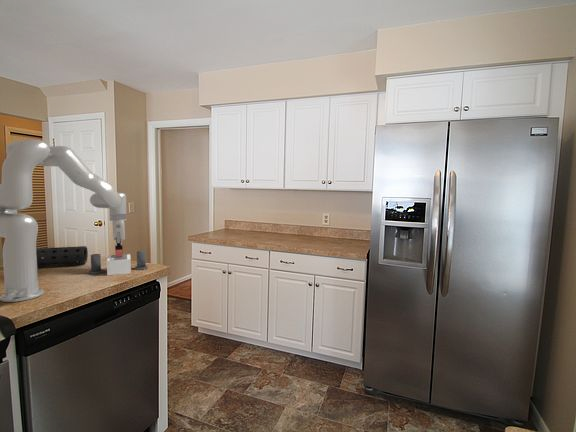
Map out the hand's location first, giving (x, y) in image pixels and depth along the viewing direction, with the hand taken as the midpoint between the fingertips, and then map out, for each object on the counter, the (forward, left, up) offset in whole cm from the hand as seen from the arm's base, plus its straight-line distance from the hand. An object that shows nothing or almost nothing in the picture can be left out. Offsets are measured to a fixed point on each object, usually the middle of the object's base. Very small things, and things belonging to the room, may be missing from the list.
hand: (119, 253), depth 155 cm
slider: (-3, 0, -1) cm, 3 cm away
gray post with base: (-2, +10, -8) cm, 13 cm away
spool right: (-2, -10, -8) cm, 13 cm away
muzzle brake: (+20, +30, -9) cm, 37 cm away
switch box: (-3, 0, -8) cm, 9 cm away
